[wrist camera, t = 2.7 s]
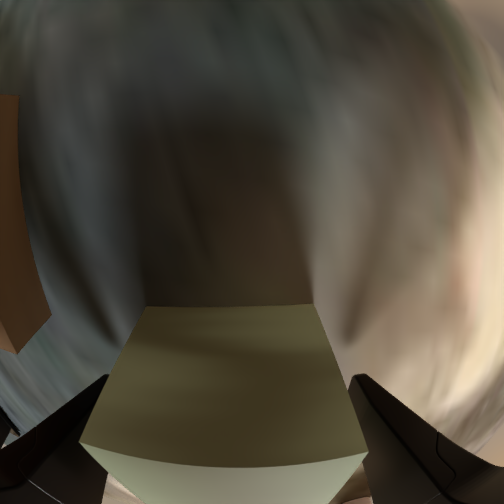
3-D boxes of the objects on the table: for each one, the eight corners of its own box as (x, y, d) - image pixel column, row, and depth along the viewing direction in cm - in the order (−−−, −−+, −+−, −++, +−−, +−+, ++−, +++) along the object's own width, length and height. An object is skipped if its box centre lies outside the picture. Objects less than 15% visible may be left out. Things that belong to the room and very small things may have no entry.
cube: (176, 405, 10) (155, 511, 5) (147, 304, 8) (79, 441, 3) (299, 404, 10) (318, 513, 5) (313, 301, 8) (368, 451, 3)
